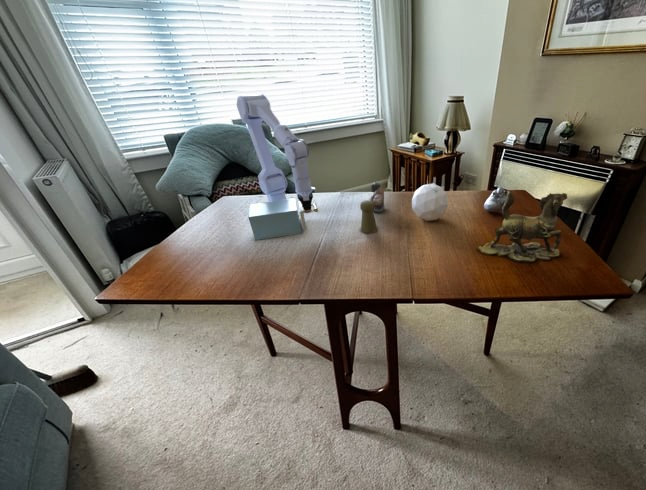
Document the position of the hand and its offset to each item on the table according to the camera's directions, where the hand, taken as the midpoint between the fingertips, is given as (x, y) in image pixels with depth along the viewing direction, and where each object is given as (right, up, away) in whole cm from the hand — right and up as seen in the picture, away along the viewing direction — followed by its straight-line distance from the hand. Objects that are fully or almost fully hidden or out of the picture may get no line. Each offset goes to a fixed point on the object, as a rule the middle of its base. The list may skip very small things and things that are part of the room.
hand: (308, 212), depth 118 cm
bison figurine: (+26, +4, +14) cm, 30 cm away
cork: (+24, -7, -2) cm, 25 cm away
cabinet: (-11, -7, 0) cm, 13 cm away
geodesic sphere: (+47, -2, +4) cm, 48 cm away
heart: (+75, +1, +6) cm, 75 cm away
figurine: (+72, -17, -20) cm, 77 cm away
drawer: (-6, -5, +1) cm, 8 cm away
